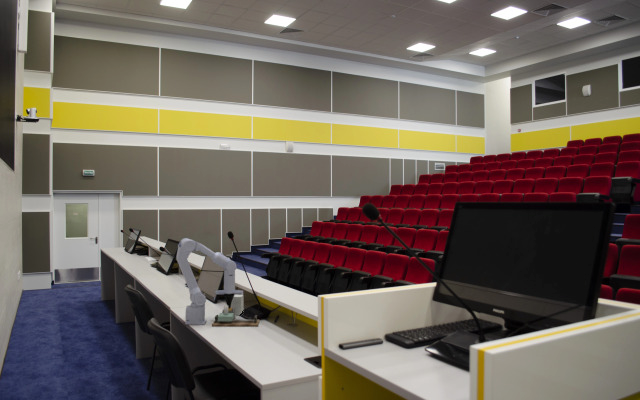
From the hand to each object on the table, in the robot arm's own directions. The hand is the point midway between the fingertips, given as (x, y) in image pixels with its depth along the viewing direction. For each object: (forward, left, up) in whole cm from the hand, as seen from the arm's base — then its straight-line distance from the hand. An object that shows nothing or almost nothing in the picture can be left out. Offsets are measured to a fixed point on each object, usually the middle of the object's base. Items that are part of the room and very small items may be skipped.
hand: (229, 308), depth 243 cm
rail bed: (+5, -9, -6) cm, 12 cm away
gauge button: (0, 0, -2) cm, 2 cm away
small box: (+2, +11, -6) cm, 13 cm away
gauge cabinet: (0, 0, -6) cm, 6 cm away
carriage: (0, -9, -4) cm, 10 cm away
